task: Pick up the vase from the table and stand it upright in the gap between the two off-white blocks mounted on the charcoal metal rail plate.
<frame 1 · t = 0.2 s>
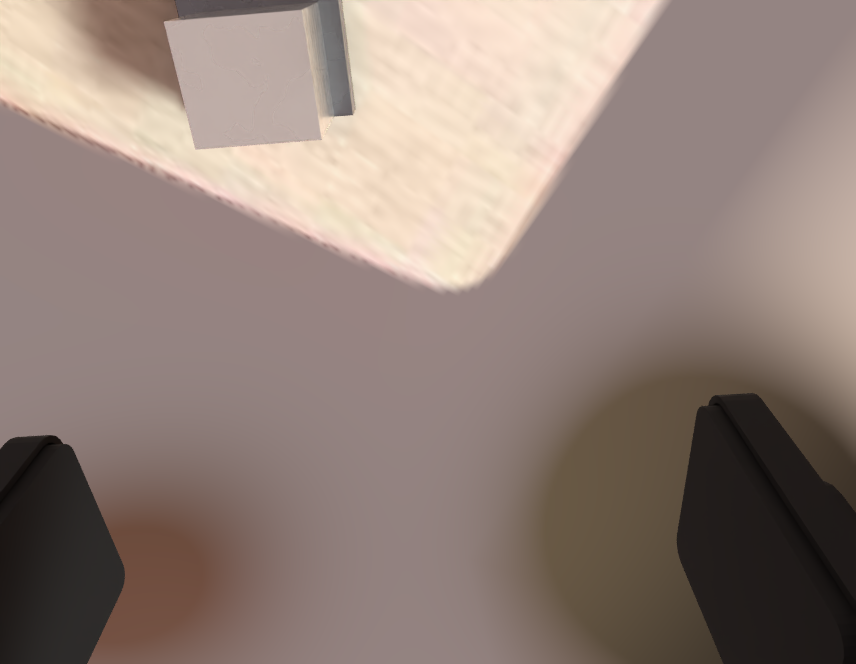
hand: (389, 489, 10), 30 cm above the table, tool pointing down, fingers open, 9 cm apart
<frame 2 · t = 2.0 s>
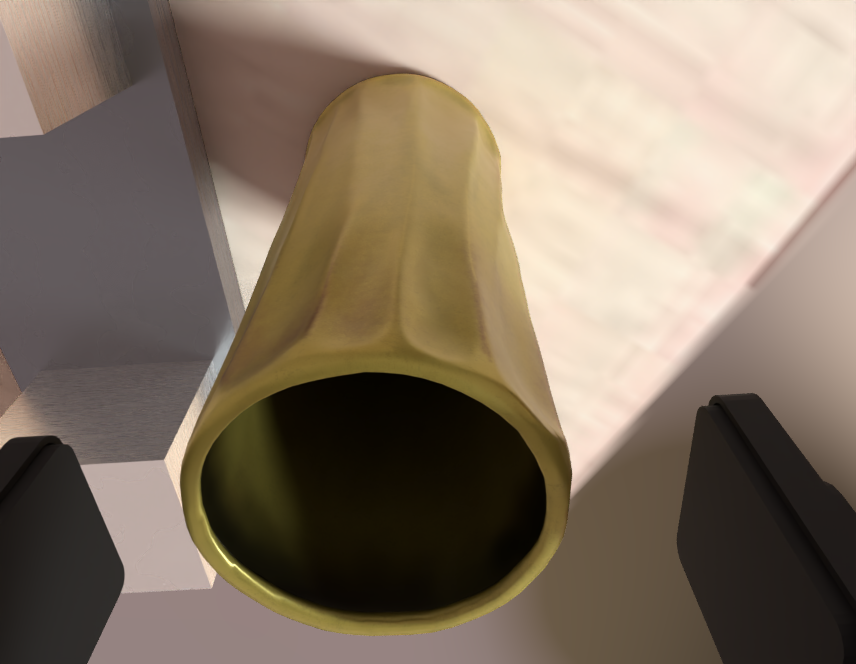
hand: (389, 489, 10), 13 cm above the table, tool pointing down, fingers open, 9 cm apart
vase: (402, 172, 21), on the table
rail board: (101, 226, 22), on the table
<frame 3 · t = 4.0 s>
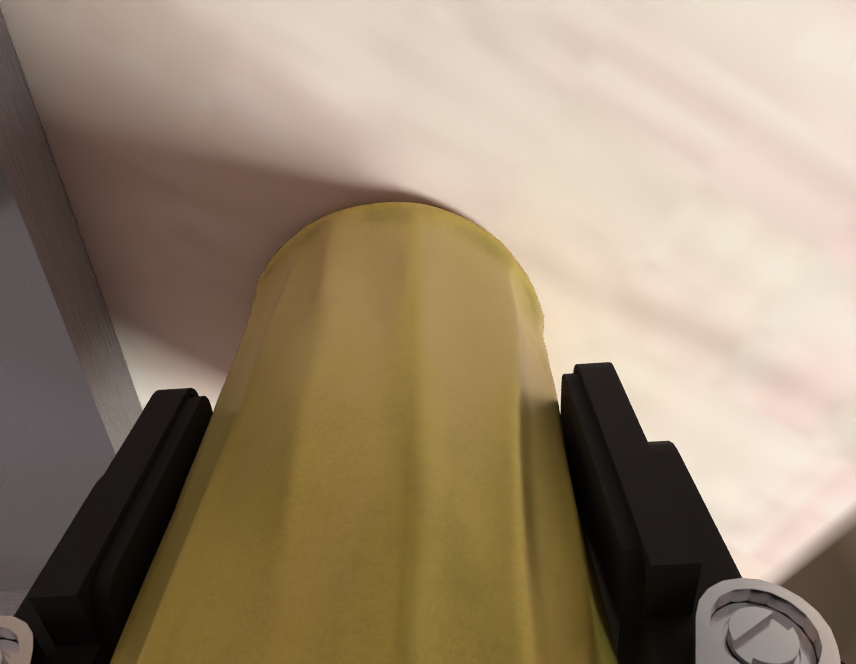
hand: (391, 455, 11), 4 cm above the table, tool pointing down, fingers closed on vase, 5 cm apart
vase: (396, 331, 14), on the table, touching gripper
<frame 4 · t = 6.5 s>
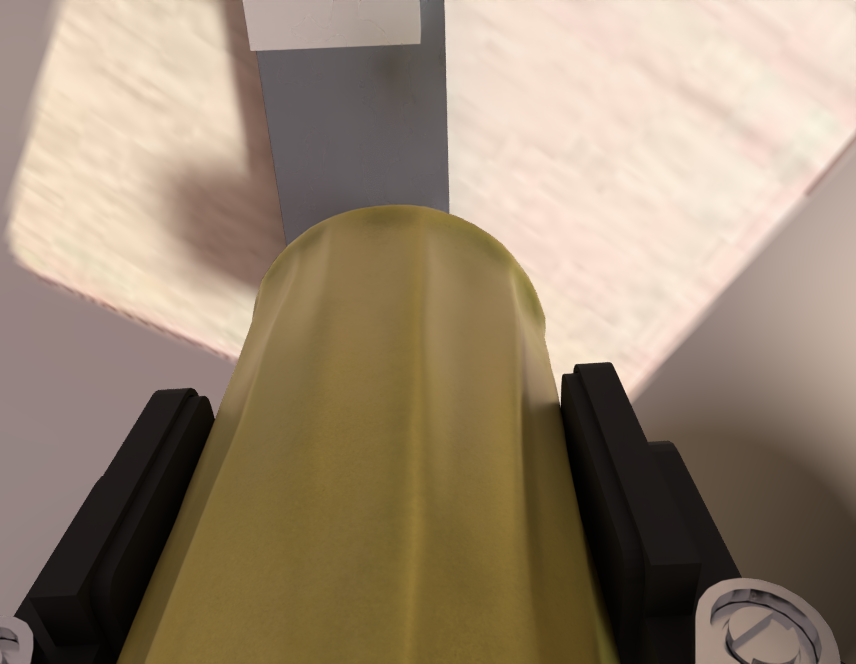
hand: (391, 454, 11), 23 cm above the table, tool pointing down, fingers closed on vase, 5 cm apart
vase: (398, 333, 14), point 19 cm above the table, touching gripper
rail board: (361, 133, 31), on the table
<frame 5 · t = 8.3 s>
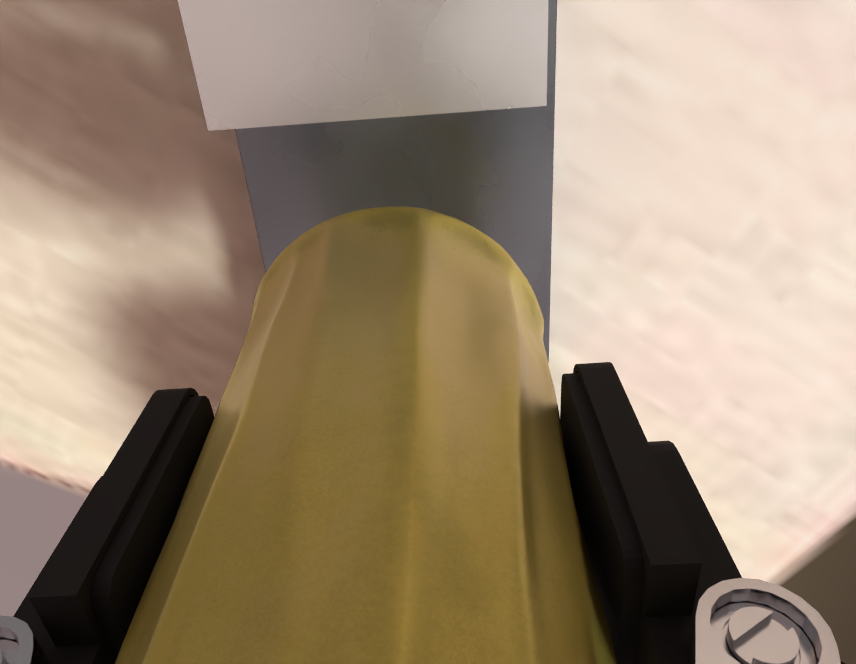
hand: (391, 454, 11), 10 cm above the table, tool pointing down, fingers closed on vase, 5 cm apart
vase: (397, 334, 14), point 6 cm above the table, touching gripper
rail board: (407, 225, 20), on the table
when the fingers open (7 cm above the table, at t = 9.4 s): vase drops 1 cm, resting on rail board.
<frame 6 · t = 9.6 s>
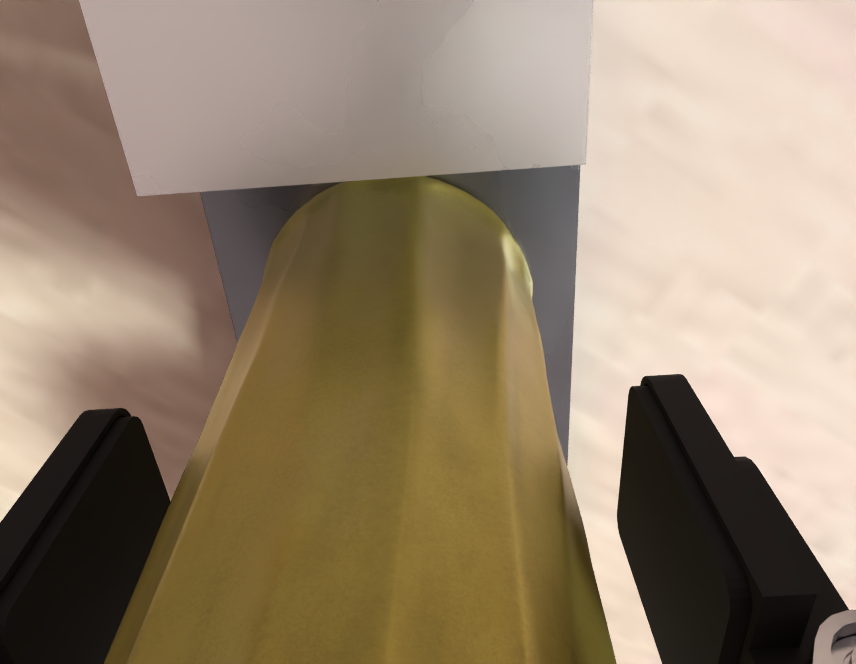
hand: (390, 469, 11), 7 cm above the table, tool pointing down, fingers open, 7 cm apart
vase: (397, 297, 15), point 1 cm above the table, touching rail board
rail board: (403, 277, 17), on the table
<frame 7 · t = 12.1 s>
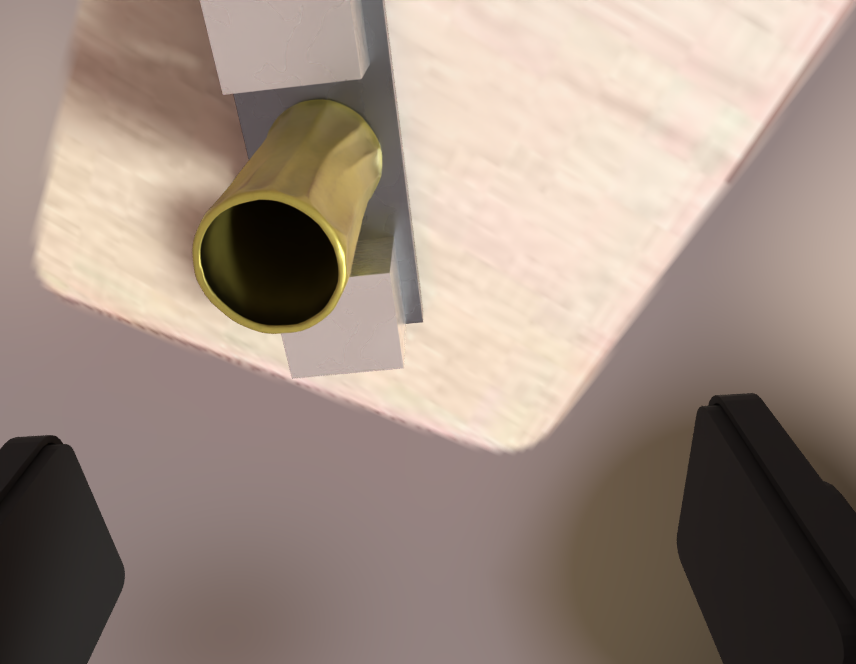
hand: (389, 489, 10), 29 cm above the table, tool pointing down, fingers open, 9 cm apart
vase: (324, 158, 35), point 1 cm above the table, touching rail board
rail board: (329, 154, 36), on the table
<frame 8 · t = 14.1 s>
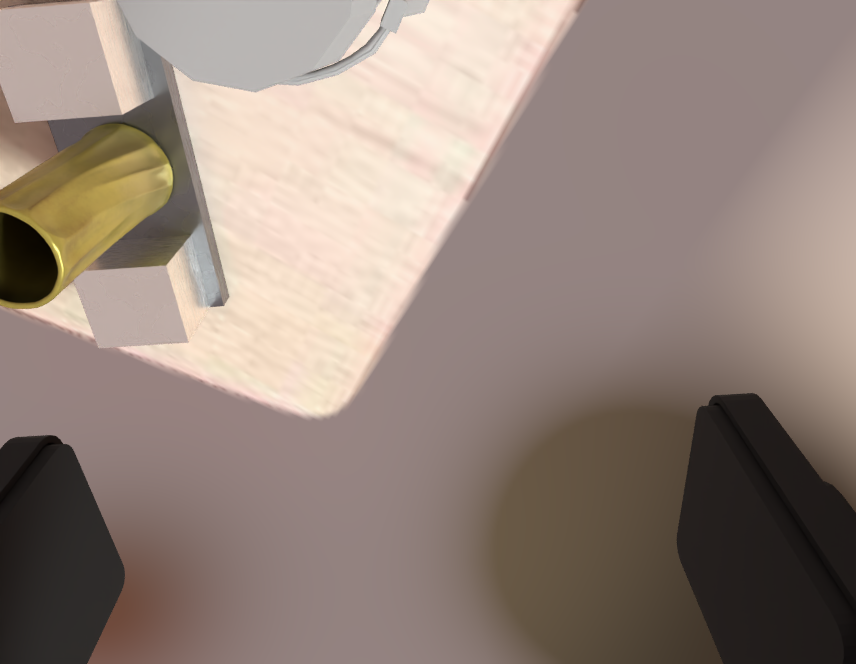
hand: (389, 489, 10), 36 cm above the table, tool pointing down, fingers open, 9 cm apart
vase: (127, 170, 43), point 1 cm above the table, touching rail board
rail board: (136, 166, 44), on the table
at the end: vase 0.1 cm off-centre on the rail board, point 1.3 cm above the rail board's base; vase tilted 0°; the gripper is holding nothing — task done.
